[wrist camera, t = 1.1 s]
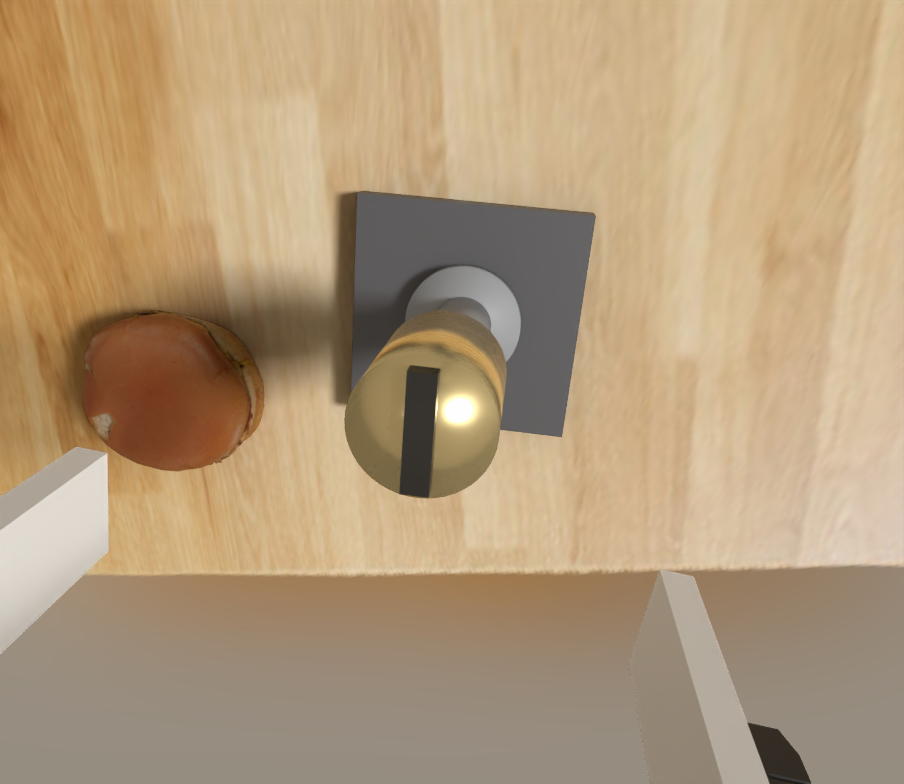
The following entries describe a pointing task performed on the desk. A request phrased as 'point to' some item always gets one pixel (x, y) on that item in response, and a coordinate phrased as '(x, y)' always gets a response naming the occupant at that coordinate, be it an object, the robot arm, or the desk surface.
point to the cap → (429, 406)
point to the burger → (171, 390)
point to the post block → (478, 287)
